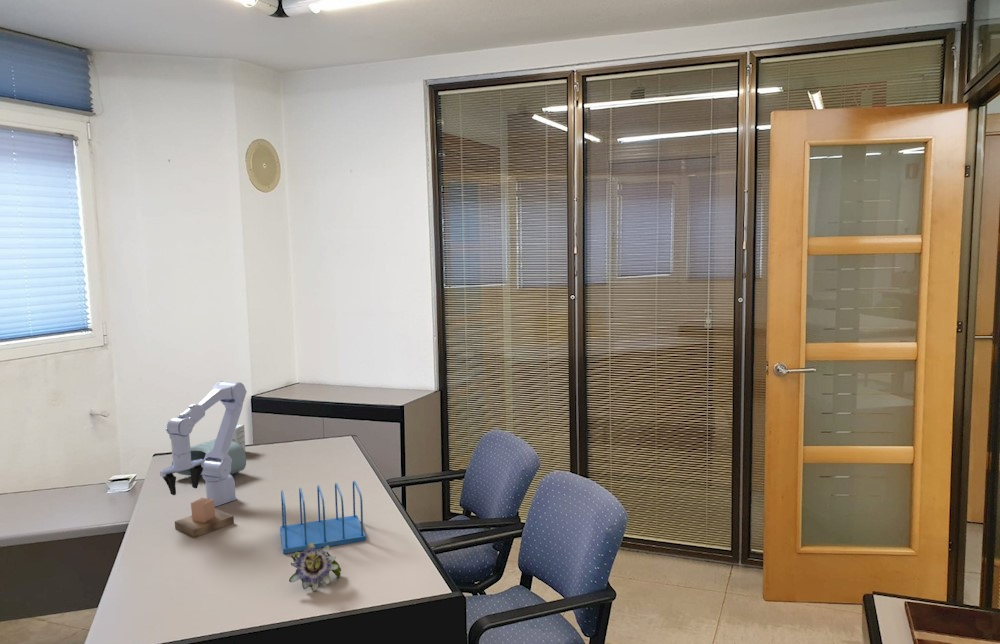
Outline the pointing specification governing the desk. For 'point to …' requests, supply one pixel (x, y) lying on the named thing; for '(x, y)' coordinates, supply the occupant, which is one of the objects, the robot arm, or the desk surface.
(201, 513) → the terracotta block
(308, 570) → the passion flower
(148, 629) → the desk surface
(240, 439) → the supplement box
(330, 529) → the file sorter
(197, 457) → the green rounded shell
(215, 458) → the robot arm
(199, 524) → the block
